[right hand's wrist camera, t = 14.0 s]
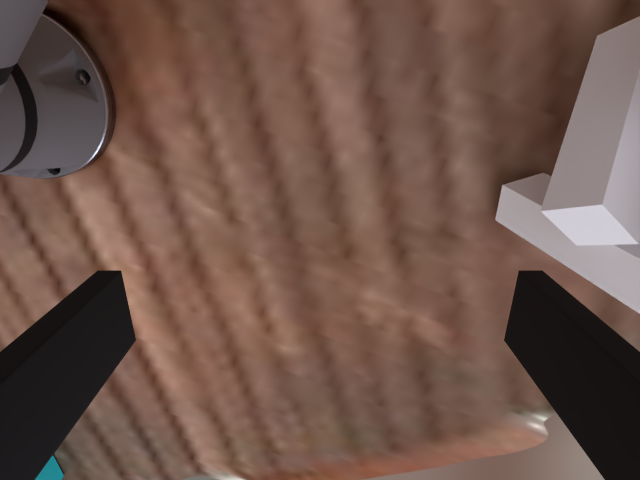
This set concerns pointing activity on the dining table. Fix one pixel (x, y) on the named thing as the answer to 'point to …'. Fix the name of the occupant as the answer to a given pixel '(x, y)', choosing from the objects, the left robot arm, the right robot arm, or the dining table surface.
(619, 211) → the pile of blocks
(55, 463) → the bracket
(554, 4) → the dining table surface
